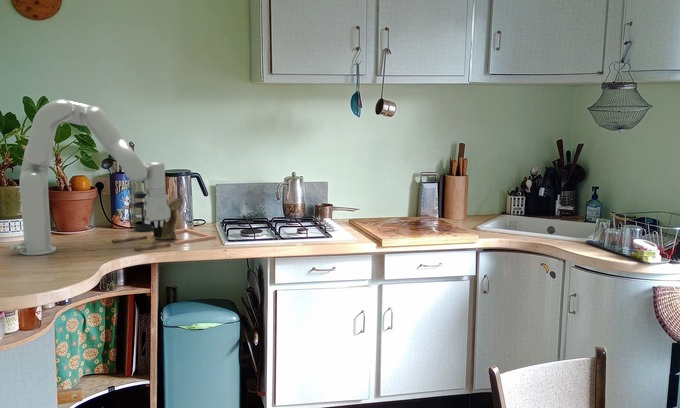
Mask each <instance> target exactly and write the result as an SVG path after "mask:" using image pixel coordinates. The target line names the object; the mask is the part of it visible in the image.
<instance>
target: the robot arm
mask: <svg viewBox="0 0 680 408" xmlns="http://www.w3.org/2000/svg"><path fill="white" fill-rule="evenodd" d="M63 122H65V123H69V124H74V125H78V126H84V127H85V126H86V127H87V128H88V129H89V131H90V132H91V134H93V136H94V138H95V139H96V140H97V141H98V142H99V144H100V145H101V147H103V149H104V150H105V151H106V152H107V154H109V155H110V156H111V157H112V158H113V160H115V161H116V162H117V164H118V166H120V168H121V169H122V170H123V172H124V175H125V176H126V177H127V178H128V179H129V180H130V181H132V182H134V183H142V181H144V182H145V189H144V191H143V190H142V191H143V193H144V194H146V195H147V196H145V198H144V219H145V222H144V223H145V224H150V225H151V226H152V227H153V231H152V232H153V233H154V236H155V237H161V234H162V227H163V225H164V223H165V222H167V221H169V220H170V217H171V210H170V208H169V205H170V203H171V202H170V198H169V194H167V193H166V171H165V170H166V168H165V167H166V166H165V163H164V162H163V161H159V160H157V161H155V160H154V161H153V160H152V161H142V160H141V159H140V157H139V156H138V155H137V154H136V152H135V151H134V150H133V148H132V147H131V146H130V144H129V143H128V141H127V140H126V139H125V137H124V136H123V134H122V133H121V132H120V131H119V129H118V128H117V127H116V126H115V124H114V122H113V121H112V120H111V119H110V118H109V116H108V115H107V113H106V112H105V111H104V110H103V109H102V108H101V107H100V106H97V105H91V104H86V103H82V102H81V103H80V102H77V101H72V100H68V99H65V98H59V99H55V100H53V101H50V102H47V103H46V104H44V105H42V106H41V107H40V108H39V109H38V110H37V112H36V114H35V115H34V118H33V120H32V124H31V128H30V132H29V137H28V142H27V144H26V146H25V149H24V153H23V158H22V164H21V170H20V175H19V194H20V207H21V217H22V218H21V219H22V230H23V231H22V232H23V240H22V241H21V242H20V243H18V244H10V250H11V251H19V252H20V254H21V255H23V256H41V255H43V256H44V255H49V254H52V253H55V252H56V251H57V247H56V246H54V245H52V230H51V218H50V217H51V216H50V201H49V200H50V199H49V181H48V173H49V168H50V163H51V160H52V158H53V149H54V142H55V137H56V133H57V129H58V127H59V125H61V123H63ZM145 179H146V180H145ZM153 233H152V234H153Z"/></svg>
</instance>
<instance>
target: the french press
mask: <svg viewBox="0 0 680 408" xmlns="http://www.w3.org/2000/svg"><path fill="white" fill-rule="evenodd" d="M145 181H146V179H145V180H144V181H142V182H141V184H142V190H139V191H133V192H132V194H133V198H134V199H142V200H143V201H138V202H134V203H129V204H128V219H129V220H128V221H129V225H133V226H134V229H133V231H134V232H138V233H148V232H150V233H151V232H153V227H152V226H151V225H150V224H145V223H144V222H145V219H144V200H145V196H147V195H146V194H144V193H143V191H144V190H145V189H144V184H145ZM131 206H133V209H135V208H138V209H141V214H136V215H135V211H133V222H131ZM136 219H138V221H136ZM139 219H141V220H139Z"/></svg>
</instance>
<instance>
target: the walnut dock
mask: <svg viewBox="0 0 680 408" xmlns="http://www.w3.org/2000/svg"><path fill="white" fill-rule="evenodd" d="M147 239H148V236H147V235H146V234H141V235H134V236H128V237H121V238H115V239H114V238H113V239H111V243H112V244H114V245H115V244H116V245H117V244H123V243H130V242H134V241H142V240H147ZM169 247H171V243H170V242H167V241H165V242H159V243H152V244H147V245H141V246H135V247H133V251H135V252H139V253H140V252H144V251H150V250H157V249H162V248H169Z"/></svg>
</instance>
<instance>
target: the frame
mask: <svg viewBox="0 0 680 408" xmlns="http://www.w3.org/2000/svg"><path fill="white" fill-rule="evenodd" d="M183 233H187V234H191V235H195V236H197V237H194V238H187V239H180V240H175V241H174V245H176V246H179V245H185V244H192V243H196V242H197V243H198V242H203V241H208V240H209V241H210V240H216V235H214V234H209V233H206V232H202V231H198V230H194V229H191V228H187V227H186V228H181V229H175V234H176V235H177V234H183ZM153 235H154V233H150V234H149V236H150V238H153Z"/></svg>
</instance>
